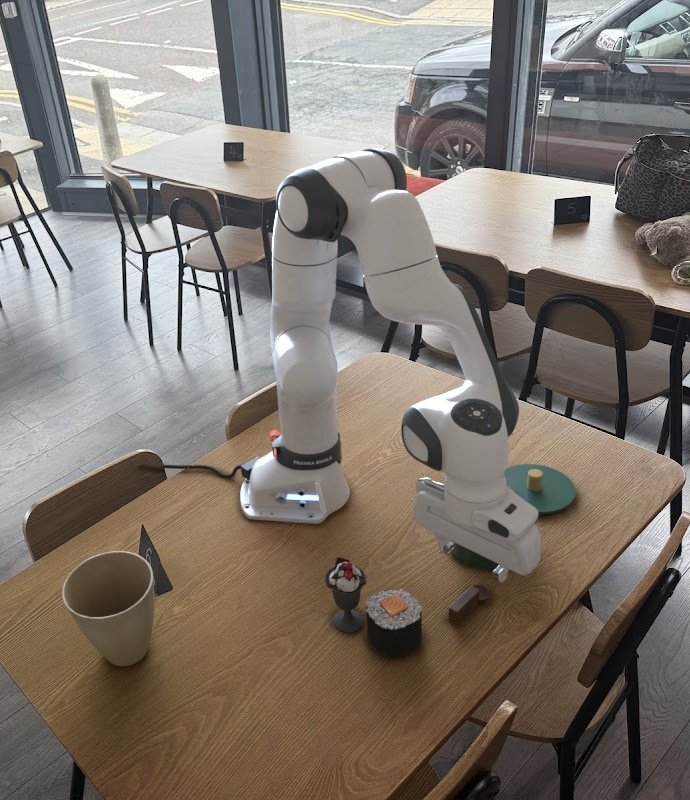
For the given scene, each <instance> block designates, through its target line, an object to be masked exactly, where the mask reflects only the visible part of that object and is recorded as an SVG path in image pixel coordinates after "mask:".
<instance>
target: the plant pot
mask: <svg viewBox="0 0 690 800" xmlns="http://www.w3.org/2000/svg"><path fill="white" fill-rule="evenodd" d="M154 583H155V582H154V572H153V568H152V566H151V564H150V563H149V562H148V560H147V559H145V558H144V557H143V556H141V555H140V554H137V553H135V552H131V551H125V550H113V551H107V552H102V553H99V554H96V555H93V556H91V557H89V558H87V559H85V560H84V561H82V562H80V563H79V564H78V565H77V566H75V567H74V568H73V569H72V571H71V572H70V573H69V574H68V575H67V577H66V578H65V581H64V583H63V586H62V589H61V596H62V597H61V598H62V601H63V603H64V605H65V607H66V609H67V611H68V613H69V614H70V616H71V618H72V619H73V621H74V622H75V624H76V625H77V627H78V629H79V630H80V632H81V633H82V635H84V637H85V638H86V640H88V642H89V643H90V644H91V645H92V646H93V647H94V649H95V650H96V651H97V652H98V653H100V655H101V656H102V657H104V658H105V659H106V660H107V661H108V662H109V663H111V664H112V665H114V666H117V667H129V666H132V665H135V664H137V663H139V662H140V661H141V660H142V659H143V658H144V657H146V654H147V653H148V650H149V646H150V642H151V639H152V632H153V626H154V618H155V616H154V615H155V586H154V585H155V584H154Z"/></svg>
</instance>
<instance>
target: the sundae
mask: <svg viewBox="0 0 690 800" xmlns="http://www.w3.org/2000/svg"><path fill="white" fill-rule="evenodd" d="M324 583H325V586H326V587H327V588H328V589H329V590H331V593H332V598H333V600H334V603H335V605H336V607H337V608H339V609H340V610H339V611H338V612H336V613H335V615H334V616H333V624H334V626H335V627H336V629H338V630H339V631H341V632H344V633H353V632H357V631H358V630H360V629H361V628H362V627H363V624H364V618H363V616H362V614H361V613H360V612H358V611H356V610H354V609H356V608H357V607H358V605H359V604H360V601H361V600H360V599H361V593H362V589H363V588H364V587H365V586H366V585H367V575H366V573H365V572H364V571H363V569H362V568H360V567H359V566H358V565H355V564H353V563H352V562H351V560H350V559H348V558H344V557H339V556H337V557H336V559H335V564H334V566H332V567H331V568H328V569H327V571H326V573H325V576H324Z"/></svg>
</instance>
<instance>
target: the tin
mask: <svg viewBox="0 0 690 800" xmlns="http://www.w3.org/2000/svg"><path fill="white" fill-rule="evenodd" d="M514 492H515V491H514ZM515 493H516V494H517V495H518V496H520V495H519V494H518V493H517V492H515ZM520 497H521V496H520ZM521 498H522V497H521ZM522 499H523V498H522ZM524 500H525V499H524ZM450 541H451V540H450ZM452 542H453V541H452ZM453 543H454V551H453V553H450V555H452V556H453V557H454V558H455V559H457V560H458V561H459V562H461V563H462V564H464V565H467V566H469V567H472V568H476V569H481V570H495V569H497V567H498V566H499V565H500V564H498V563H496V562H494V561H492V560H490V559H488V558H486V557H483V556H481V555H479V554H477V553H475V552H473V551H471V550H469V549H467V548H465V547H463V546H461V545H459V544H457V543H455V542H453Z"/></svg>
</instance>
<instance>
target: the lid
mask: <svg viewBox="0 0 690 800" xmlns="http://www.w3.org/2000/svg"><path fill="white" fill-rule="evenodd" d="M504 476H505V478H506V483H507V486H508V487H509V488H510V489H511V490H513V491H515V492H517V493H518V494H519V495H520V496H521V497H522V498H523V499H525V501H526V502H528V503H529V504H531V505H532V506H533V507H535V508H536V509H537V511H538V516H539V515H552V514H557V513H560V512H563V511H564V510H566V509H567V508H569V507H570V506H571V505H572V504H573V503H574V501H575V499H576V492H577V491H576V487H575V485H574V483H573V481H572V479H570V478H569V477H568V476H567V475H566V474H565V473H563V472H561V471H559V470H557V469H555V468H553V467H549V466H547V465H542V464H534V463H522V464H515V465H512V466H511V465H510V466H509V467H507V468H506V470H505V473H504Z"/></svg>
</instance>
